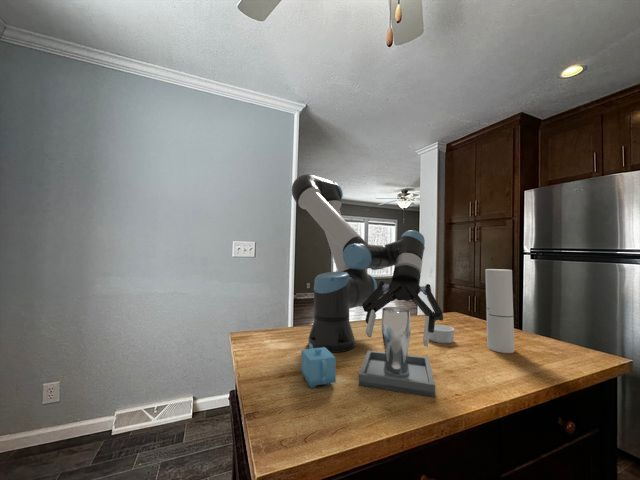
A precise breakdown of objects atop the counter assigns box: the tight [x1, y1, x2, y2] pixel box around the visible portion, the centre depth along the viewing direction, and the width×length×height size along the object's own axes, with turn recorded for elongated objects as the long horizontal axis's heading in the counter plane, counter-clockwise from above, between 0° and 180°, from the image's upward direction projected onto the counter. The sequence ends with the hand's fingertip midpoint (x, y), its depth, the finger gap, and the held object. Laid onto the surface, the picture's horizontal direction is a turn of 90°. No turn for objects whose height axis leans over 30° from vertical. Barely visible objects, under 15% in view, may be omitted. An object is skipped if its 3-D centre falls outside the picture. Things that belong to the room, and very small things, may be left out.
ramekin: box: [428, 324, 455, 344], centre depth 95 cm, size 9×9×4 cm
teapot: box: [300, 342, 337, 388], centre depth 64 cm, size 12×6×8 cm, turn 19°
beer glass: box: [381, 306, 412, 377], centre depth 67 cm, size 7×7×15 cm
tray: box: [358, 350, 436, 398], centre depth 66 cm, size 16×16×2 cm
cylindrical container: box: [484, 268, 515, 354], centre depth 86 cm, size 7×7×25 cm
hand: (395, 339), depth 65 cm, fingers open, 13 cm apart
